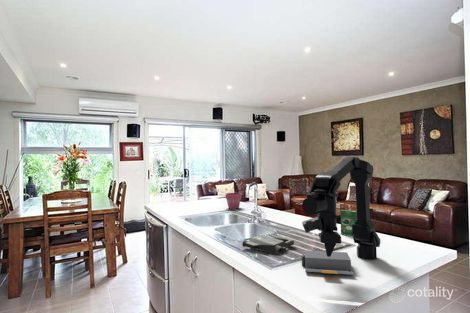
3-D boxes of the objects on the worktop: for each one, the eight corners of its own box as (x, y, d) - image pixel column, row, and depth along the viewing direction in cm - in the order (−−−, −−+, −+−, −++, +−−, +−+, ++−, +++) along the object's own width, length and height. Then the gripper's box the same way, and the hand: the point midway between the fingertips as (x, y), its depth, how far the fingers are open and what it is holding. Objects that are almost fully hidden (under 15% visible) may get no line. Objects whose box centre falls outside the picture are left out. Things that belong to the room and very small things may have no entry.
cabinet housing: (347, 265, 104) (347, 252, 104) (351, 274, 96) (350, 260, 96) (301, 262, 108) (301, 250, 108) (302, 270, 100) (301, 257, 100)
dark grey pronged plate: (282, 257, 114) (282, 245, 114) (241, 250, 125) (241, 239, 125) (295, 247, 128) (295, 236, 128) (257, 241, 139) (257, 231, 139)
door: (351, 271, 96) (355, 272, 89) (351, 274, 95) (355, 275, 88) (305, 268, 99) (305, 268, 92) (305, 271, 99) (305, 272, 92)
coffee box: (357, 234, 144) (356, 210, 144) (357, 236, 141) (356, 211, 141) (341, 233, 148) (340, 209, 148) (340, 234, 145) (340, 210, 145)
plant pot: (245, 208, 230) (244, 193, 231) (231, 210, 223) (230, 195, 223) (236, 206, 243) (235, 192, 243) (222, 208, 235) (222, 193, 235)
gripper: (302, 206, 103) (304, 246, 103) (303, 216, 85) (305, 265, 85) (333, 206, 101) (334, 248, 100) (340, 217, 82) (342, 267, 82)
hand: (328, 256), depth 92 cm, fingers closed
